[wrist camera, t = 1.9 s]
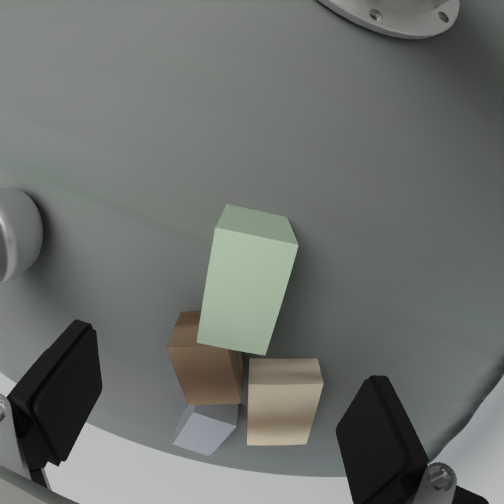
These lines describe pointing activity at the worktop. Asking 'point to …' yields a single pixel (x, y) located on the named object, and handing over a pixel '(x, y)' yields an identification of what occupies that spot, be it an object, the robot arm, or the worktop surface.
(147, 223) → the worktop surface
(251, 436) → the birch brick
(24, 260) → the plastic bottle
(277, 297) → the sage brick
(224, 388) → the walnut brick
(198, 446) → the slate brick
